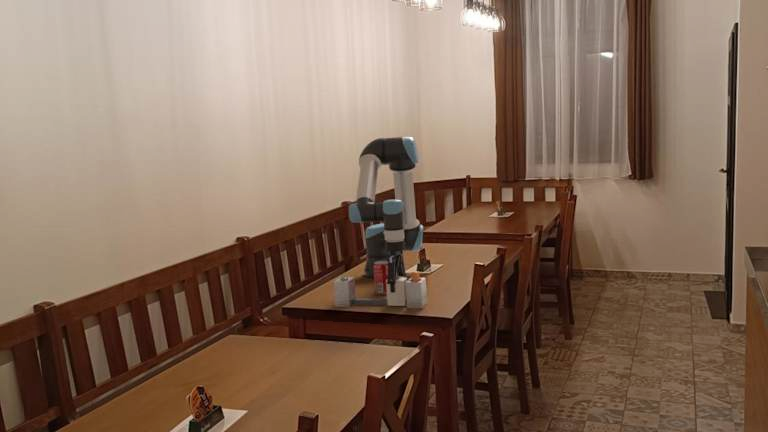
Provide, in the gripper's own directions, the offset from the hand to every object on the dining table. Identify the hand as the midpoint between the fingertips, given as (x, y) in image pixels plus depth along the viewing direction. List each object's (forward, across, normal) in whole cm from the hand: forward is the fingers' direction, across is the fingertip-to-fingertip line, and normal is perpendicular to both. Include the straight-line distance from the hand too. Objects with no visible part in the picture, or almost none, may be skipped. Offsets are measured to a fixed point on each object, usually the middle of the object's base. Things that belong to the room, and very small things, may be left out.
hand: (397, 296), depth 269 cm
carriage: (+3, 0, 0) cm, 3 cm away
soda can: (+4, -18, -11) cm, 21 cm away
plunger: (-4, 0, +7) cm, 8 cm away
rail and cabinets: (+3, 0, -7) cm, 8 cm away
